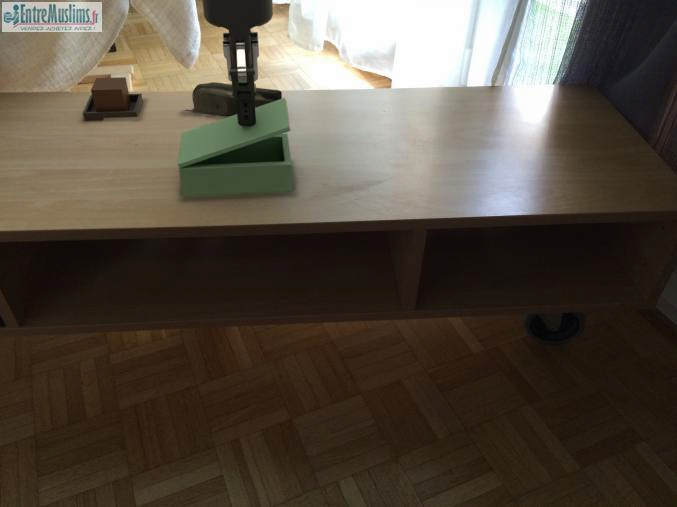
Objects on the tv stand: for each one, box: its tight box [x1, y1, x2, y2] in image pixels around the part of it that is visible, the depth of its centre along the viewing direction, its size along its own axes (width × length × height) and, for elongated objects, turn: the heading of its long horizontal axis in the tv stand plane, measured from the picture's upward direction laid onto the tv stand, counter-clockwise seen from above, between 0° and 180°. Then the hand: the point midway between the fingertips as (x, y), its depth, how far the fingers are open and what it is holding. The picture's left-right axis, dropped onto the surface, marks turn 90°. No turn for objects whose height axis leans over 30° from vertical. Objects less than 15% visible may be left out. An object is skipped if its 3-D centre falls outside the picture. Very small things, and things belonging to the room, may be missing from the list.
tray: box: [82, 93, 144, 122], centre depth 95 cm, size 8×6×2 cm
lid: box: [177, 97, 291, 169], centre depth 76 cm, size 14×8×1 cm, turn 97°
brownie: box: [90, 76, 131, 112], centre depth 93 cm, size 4×4×4 cm
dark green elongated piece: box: [184, 81, 283, 117], centre depth 94 cm, size 5×3×15 cm
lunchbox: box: [178, 133, 293, 198], centre depth 79 cm, size 14×8×5 cm, turn 97°
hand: (247, 123), depth 75 cm, fingers closed
